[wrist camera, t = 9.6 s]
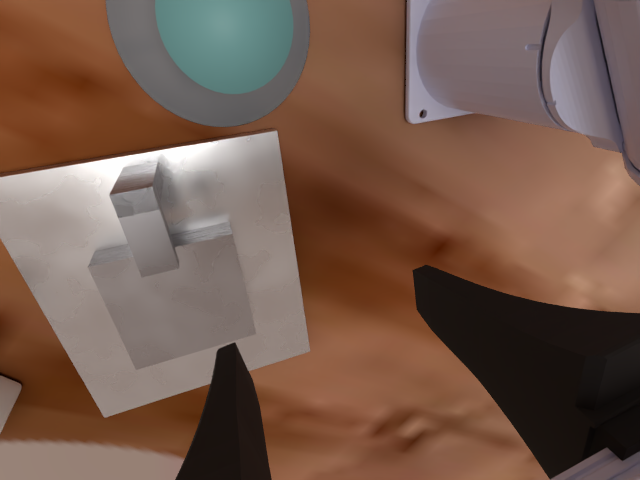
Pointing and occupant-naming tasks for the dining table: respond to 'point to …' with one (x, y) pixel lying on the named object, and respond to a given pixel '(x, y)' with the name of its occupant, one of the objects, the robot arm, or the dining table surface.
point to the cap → (227, 40)
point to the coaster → (182, 92)
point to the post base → (187, 201)
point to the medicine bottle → (7, 398)
